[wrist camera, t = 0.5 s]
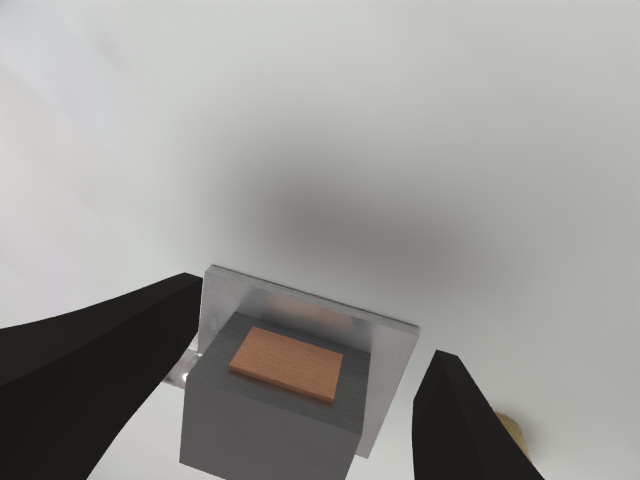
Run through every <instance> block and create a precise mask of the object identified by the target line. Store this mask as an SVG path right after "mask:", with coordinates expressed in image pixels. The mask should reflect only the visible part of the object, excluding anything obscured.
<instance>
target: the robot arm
mask: <svg viewBox="0 0 640 480" xmlns="http://www.w3.org/2000/svg"><path fill="white" fill-rule="evenodd" d="M202 284H203V278H201V277H198V276H195V275H192V274H188V273H185V272H184V273H181V274H178V275H175V276H172V277H170V278H167V279H164V280H162V281H159V282H156V283H154V284H151V285H149V286H146V287H143V288H141V289H138V290H135V291H133V292H130V293H127V294H125V295H122V296H119V297H116V298H113V299H110V300H107V301H104V302H101V303H98V304H95V305H92V306H89V307H86V308H83V309H80V310H77V311H73V312H70V313H66V314H63V315H59V316H55V317H51V318H47V319H43V320H39V321H36V322H31V323H27V324H22V325H17V326H12V327H7V328H2V329H0V480H86V479H87V478H88V476H89V475H90V473H91V472H92V470H93V469H94V467H95V466H96V464H97V463H98V462H99V460H100V459H101V457H102V456H103V454H104V453H105V452H106V450H107V449H108V447H109V446H110V444H111V443H112V442H113V440H114V439H115V437H116V436H117V434H118V433H119V432H120V431H121V429H122V428H123V427H124V426H125V424H126V423H127V422H128V420H129V419H130V418H131V417H132V416H133V414H134V413H135V412H136V411H137V410H138V408H139V407H140V406H141V405H142V404H143V403H144V401H145V400H146V399H147V398H148V397H149V395H150V394H151V393H152V392H153V391H154V390H155V388H156V387H157V386H158V385H159V384H160V382H161V381H162V380H163V379H164V378H165V377H166V375H167V374H168V373H169V372H170V370H171V369H172V368H173V367H174V366H175V364H176V363H177V362H178V361H179V360H180V358H181V357H182V355H183V354H184V352H185V351H186V349H187V348H188V346H189V345H190V343H191V341H192V340H193V338H194V337H195V335H196V333H197V332H198V327H199V316H200V305H201V295H202ZM412 449H413V464H414V478H415V480H545V479H544V478H543V477H542V476H541V475H540V473H539V472H538V471H537V470H536V468H535V467H534V466H533V464H532V463H531V462H530V461H529V459H528V458H527V457H526V455H525V454H524V453H523V451H522V450H521V449H520V447H519V446H518V445H517V443H516V442H515V441H514V439H513V438H512V437H511V435H510V434H509V432H508V431H507V430H506V428H505V427H504V425H503V424H502V423H501V421H500V420H499V418H498V417H497V415H496V414H495V412H494V411H493V409H492V408H491V406H490V405H489V403H488V402H487V400H486V399H485V397H484V396H483V394H482V393H481V391H480V390H479V388H478V386H477V385H476V383H475V382H474V380H473V379H472V377H471V375H470V374H469V372H468V371H467V369H466V368H465V366H464V365H463V363H462V362H461V360H460V359H459V357H458V356H456V355H453V354H450V353H446V352H443V351H440V350H437V349H436V351H435V354H434V356H433V358H432V360H431V363H430V365H429V367H428V369H427V371H426V374H425V376H424V378H423V380H422V382H421V385H420V387H419V389H418V391H417V394H416V396H415V398H414V401H413V417H412Z"/></svg>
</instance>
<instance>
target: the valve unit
mask: <svg viewBox="0 0 640 480" xmlns="http://www.w3.org/2000/svg"><path fill="white" fill-rule="evenodd" d="M418 337H419V334H418V327H415V326H412V325H409V324H405V323H402V322H399V321H395V320H392V319H389V318H386V317H382V316H379V315H376V314H372V313H369V312H366V311H362V310H359V309H356V308H352V307H349V306H346V305H342V304H339V303H336V302H332V301H329V300H326V299H323V298H319V297H316V296H313V295H309V294H306V293H303V292H299V291H296V290H293V289H289V288H286V287H283V286H279V285H276V284H273V283H269V282H266V281H263V280H260V279H256V278H253V277H250V276H246V275H243V274H240V273H236V272H233V271H230V270H226V269H223V268H220V267H216V266H213V265H211V266H210V267H209V268H208V269H207V270H206V271H205V276H204V287H203V297H202V308H201V319H200V329H199V340H198V351H197V352H196V351H193V350H190V349H186V351H185V352H184V354H183V355H182V357H181V358H180V360H179V361H178V362H177V363H176V364H175V366H174V367H173V368H172V369H171V370H170V372H169V373H168V374H167V375H166V377H165V378H164V379H163V380H162V382H164V383H167V384H170V385H173V386H176V387H179V388H181V389H184V390H185V397H184V409H183V422H182V434H181V447H180V459H179V463H182V464H184V465H187V466H190V467H193V468H195V469H198V470H201V471H204V472H207V473H209V474H212V475H215V476H218V477H220V478H223V479H226V480H345V478H346V476H347V473H348V470H349V468H350V465H351V463H352V460H353V458H354V455H358V456H361V457H364V458H367V459H368V457H369V455H370V452H371V450H372V447H373V445H374V443H375V440H376V438H377V435H378V433H379V431H380V428H381V426H382V423H383V421H384V419H385V416H386V414H387V411H388V409H389V407H390V404H391V402H392V399H393V397H394V395H395V392H396V390H397V387H398V385H399V383H400V380H401V378H402V375H403V373H404V371H405V368H406V366H407V363H408V361H409V359H410V356H411V354H412V351H413V349H414V347H415V344H416V342H417V339H418Z"/></svg>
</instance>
